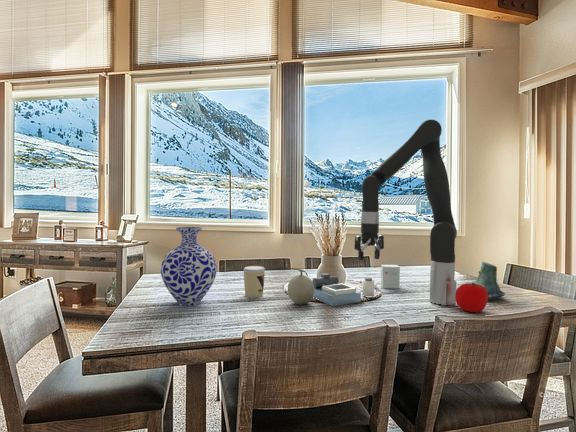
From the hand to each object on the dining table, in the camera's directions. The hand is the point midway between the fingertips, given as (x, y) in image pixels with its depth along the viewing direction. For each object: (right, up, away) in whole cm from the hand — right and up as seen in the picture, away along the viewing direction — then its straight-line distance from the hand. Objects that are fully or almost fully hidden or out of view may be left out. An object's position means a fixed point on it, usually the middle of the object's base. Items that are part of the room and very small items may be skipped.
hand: (369, 259), depth 164 cm
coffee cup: (-50, -16, 0) cm, 52 cm away
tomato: (+35, -18, -19) cm, 44 cm away
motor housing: (-16, -16, -4) cm, 23 cm away
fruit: (-30, -17, -12) cm, 36 cm away
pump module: (0, -16, +1) cm, 16 cm away
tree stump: (+49, -17, +3) cm, 52 cm away
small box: (+14, -16, +18) cm, 28 cm away
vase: (-75, -16, -13) cm, 77 cm away
